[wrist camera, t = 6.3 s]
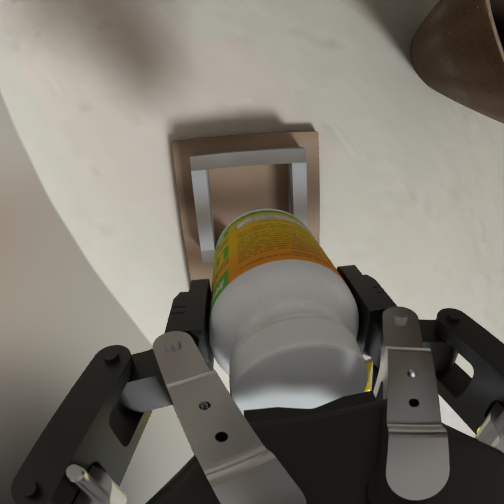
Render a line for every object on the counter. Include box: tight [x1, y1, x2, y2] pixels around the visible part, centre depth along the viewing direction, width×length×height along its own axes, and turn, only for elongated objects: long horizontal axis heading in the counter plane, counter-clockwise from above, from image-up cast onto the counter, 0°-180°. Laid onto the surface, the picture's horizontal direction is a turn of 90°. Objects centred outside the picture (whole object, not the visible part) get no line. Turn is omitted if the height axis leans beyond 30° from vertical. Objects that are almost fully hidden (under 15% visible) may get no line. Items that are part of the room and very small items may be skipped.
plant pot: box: [411, 0, 504, 123], centre depth 16 cm, size 15×15×16 cm
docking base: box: [172, 131, 320, 290], centre depth 30 cm, size 24×13×3 cm, turn 4°
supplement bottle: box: [209, 209, 368, 415], centre depth 12 cm, size 5×5×10 cm
